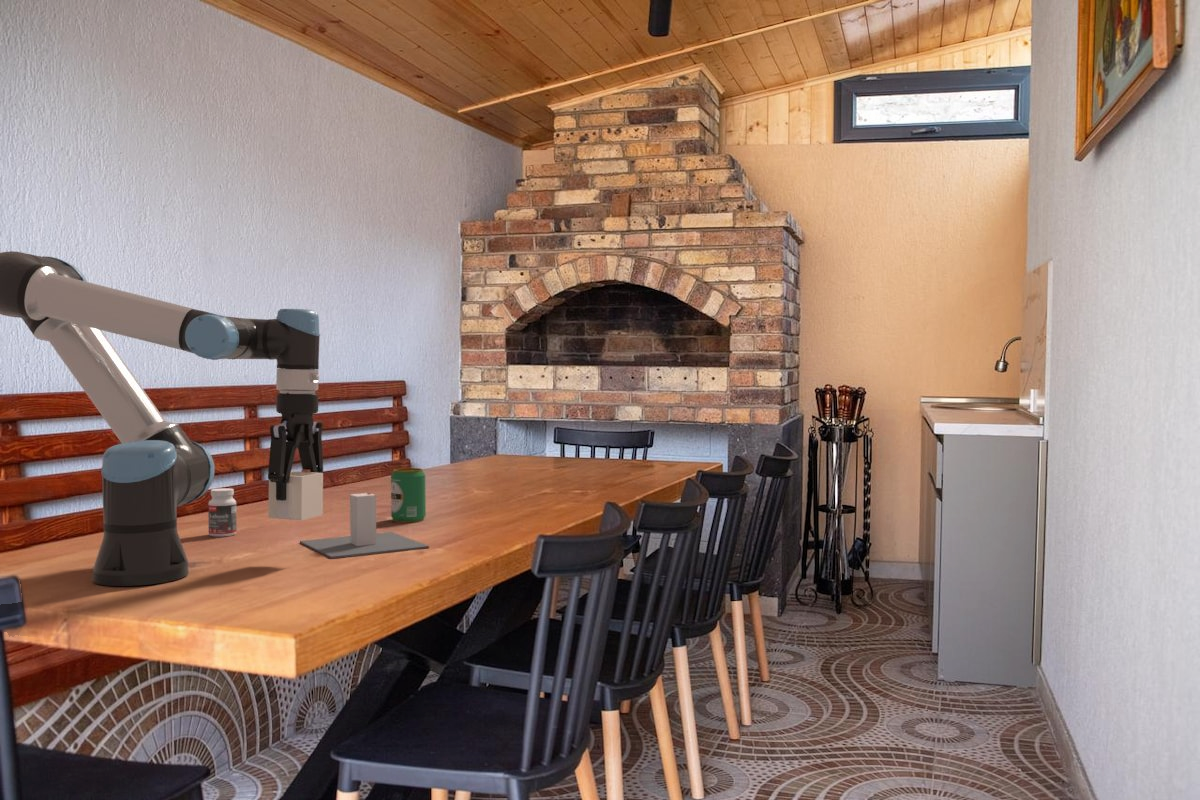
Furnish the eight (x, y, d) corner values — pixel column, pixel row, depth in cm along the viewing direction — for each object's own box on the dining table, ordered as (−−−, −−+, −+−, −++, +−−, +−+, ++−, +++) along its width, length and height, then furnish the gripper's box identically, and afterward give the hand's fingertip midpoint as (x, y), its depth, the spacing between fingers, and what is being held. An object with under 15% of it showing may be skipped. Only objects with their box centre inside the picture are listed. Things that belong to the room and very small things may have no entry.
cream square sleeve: (301, 520, 185) (302, 474, 184) (268, 517, 187) (268, 472, 186) (322, 515, 191) (323, 470, 191) (290, 512, 193) (291, 468, 193)
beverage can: (385, 519, 240) (384, 469, 239) (414, 516, 245) (413, 467, 244) (402, 523, 234) (402, 472, 233) (432, 520, 239) (431, 469, 238)
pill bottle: (204, 537, 216) (203, 491, 216) (213, 532, 222) (213, 487, 222) (231, 537, 217) (231, 491, 216) (240, 532, 222) (239, 487, 222)
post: (331, 558, 192) (330, 502, 192) (300, 542, 209) (299, 491, 209) (428, 547, 203) (428, 495, 203) (391, 533, 220) (391, 484, 220)
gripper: (283, 394, 177) (281, 524, 178) (343, 391, 196) (342, 509, 197) (247, 392, 180) (245, 521, 180) (310, 390, 199) (308, 506, 199)
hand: (295, 514), depth 189 cm, fingers closed on cream square sleeve, 7 cm apart
